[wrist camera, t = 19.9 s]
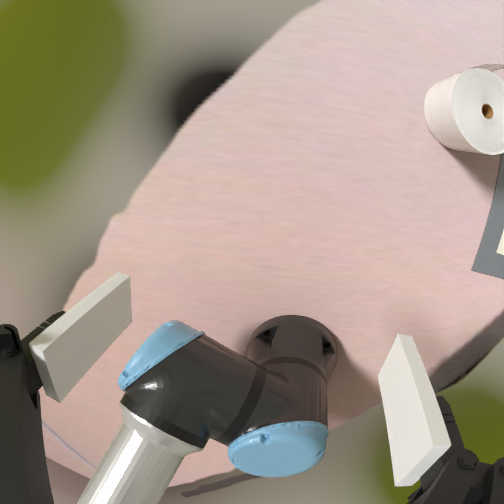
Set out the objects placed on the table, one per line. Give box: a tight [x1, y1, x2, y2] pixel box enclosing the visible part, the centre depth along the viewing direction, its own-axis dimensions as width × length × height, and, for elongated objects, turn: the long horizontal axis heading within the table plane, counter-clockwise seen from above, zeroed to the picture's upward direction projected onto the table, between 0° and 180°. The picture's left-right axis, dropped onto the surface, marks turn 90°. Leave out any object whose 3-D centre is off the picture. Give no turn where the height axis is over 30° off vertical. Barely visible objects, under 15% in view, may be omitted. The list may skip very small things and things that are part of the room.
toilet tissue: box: [424, 64, 504, 155], centre depth 30 cm, size 11×12×10 cm
